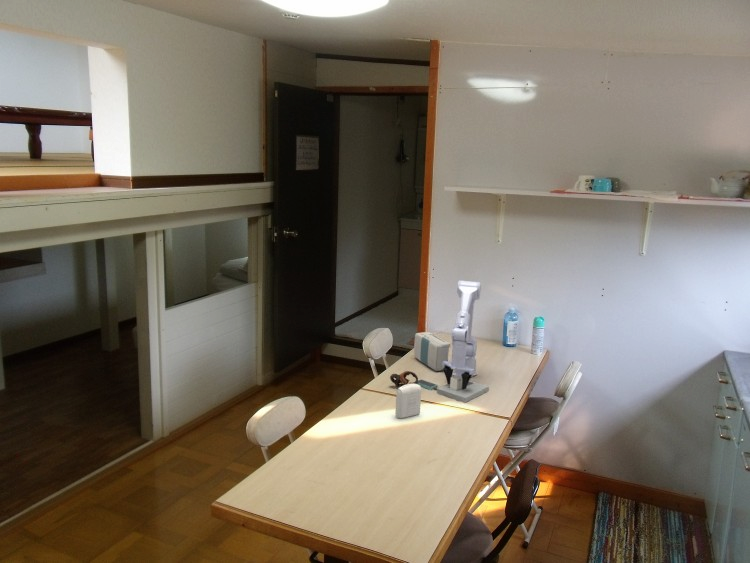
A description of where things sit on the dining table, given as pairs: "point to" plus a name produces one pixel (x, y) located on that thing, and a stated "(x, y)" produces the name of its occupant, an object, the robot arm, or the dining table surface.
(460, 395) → the outlet plate
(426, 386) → the phone with cable
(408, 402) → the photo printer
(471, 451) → the dining table surface
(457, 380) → the charger plug
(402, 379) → the brown curved looped piece
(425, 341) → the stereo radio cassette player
